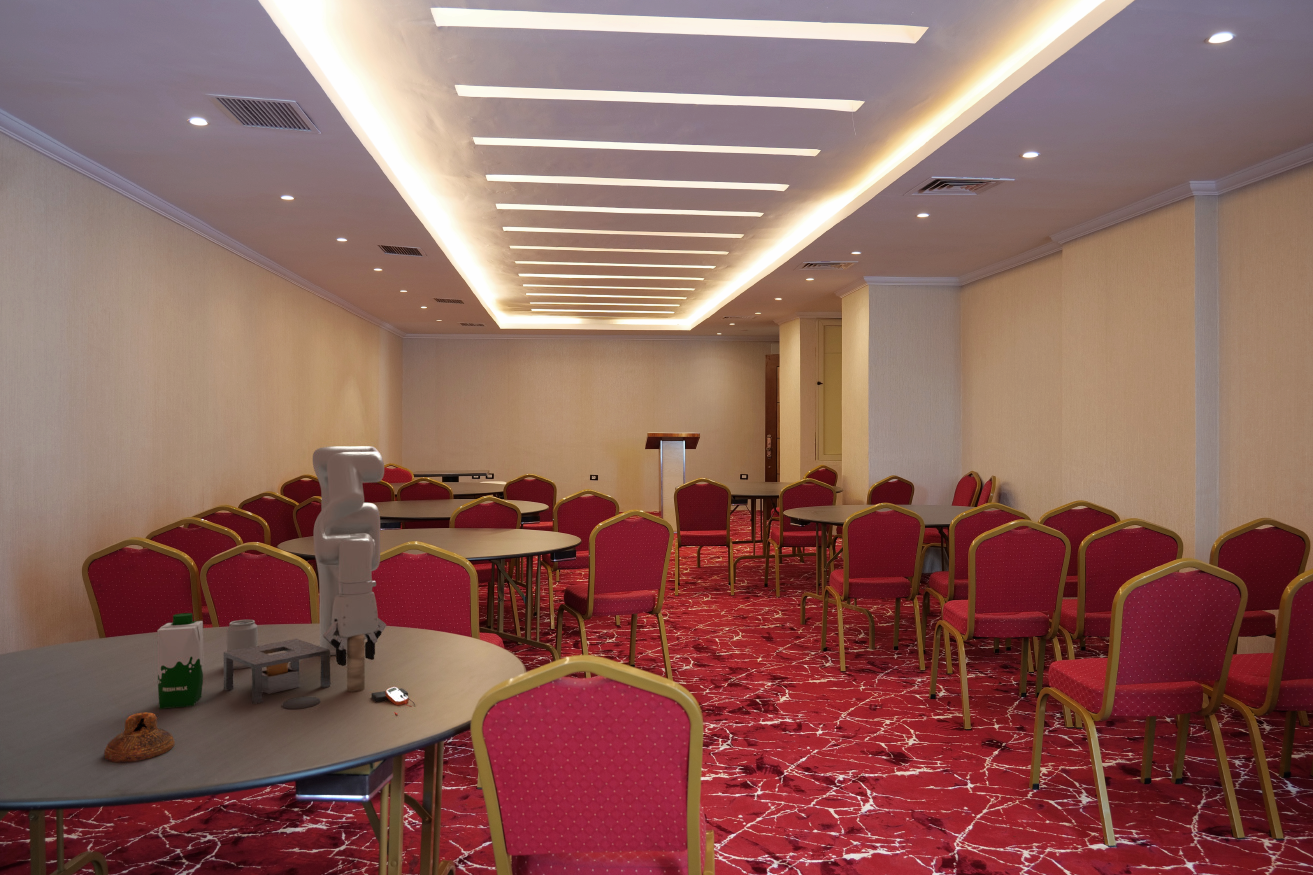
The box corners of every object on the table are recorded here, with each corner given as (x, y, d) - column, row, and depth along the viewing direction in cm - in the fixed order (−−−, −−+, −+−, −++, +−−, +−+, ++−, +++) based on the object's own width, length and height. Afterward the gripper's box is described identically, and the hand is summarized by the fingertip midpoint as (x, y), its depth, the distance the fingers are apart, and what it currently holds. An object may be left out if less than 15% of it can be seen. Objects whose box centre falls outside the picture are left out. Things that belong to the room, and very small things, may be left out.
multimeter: (440, 712, 186) (440, 696, 186) (384, 720, 180) (384, 704, 180) (422, 692, 202) (422, 677, 202) (370, 699, 196) (370, 684, 196)
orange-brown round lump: (282, 670, 207) (282, 652, 207) (291, 674, 204) (291, 656, 204) (262, 674, 204) (262, 656, 204) (271, 678, 201) (271, 660, 201)
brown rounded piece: (186, 740, 168) (186, 704, 168) (152, 763, 156) (152, 724, 156) (127, 741, 168) (127, 705, 168) (89, 764, 156) (88, 725, 156)
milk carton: (206, 695, 198) (206, 611, 198) (196, 707, 189) (196, 619, 189) (165, 698, 196) (164, 613, 196) (153, 710, 187) (152, 621, 187)
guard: (296, 673, 217) (296, 638, 217) (330, 686, 205) (329, 649, 205) (223, 688, 203) (223, 651, 203) (255, 703, 191) (255, 664, 191)
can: (263, 662, 228) (263, 618, 228) (247, 669, 221) (247, 624, 221) (237, 661, 229) (237, 618, 229) (220, 669, 221) (220, 624, 222)
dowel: (359, 685, 205) (359, 620, 205) (367, 688, 202) (367, 622, 203) (344, 689, 202) (343, 623, 202) (352, 692, 199) (352, 625, 200)
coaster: (310, 695, 197) (310, 694, 197) (326, 702, 191) (326, 700, 192) (276, 704, 191) (276, 702, 191) (291, 711, 186) (291, 709, 186)
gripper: (379, 582, 211) (380, 652, 211) (313, 591, 199) (313, 666, 198) (395, 585, 206) (396, 657, 206) (328, 595, 194) (329, 672, 193)
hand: (355, 661), depth 202 cm, fingers open, 6 cm apart
